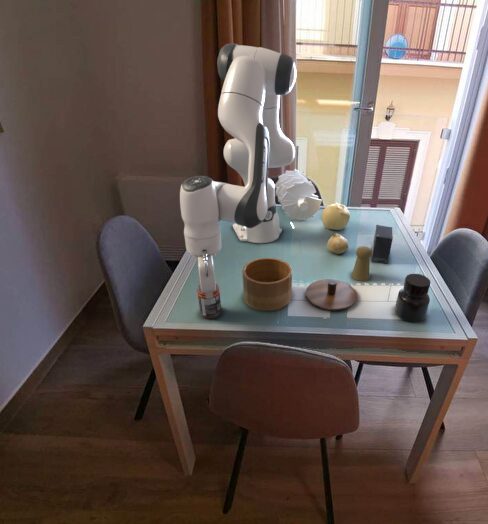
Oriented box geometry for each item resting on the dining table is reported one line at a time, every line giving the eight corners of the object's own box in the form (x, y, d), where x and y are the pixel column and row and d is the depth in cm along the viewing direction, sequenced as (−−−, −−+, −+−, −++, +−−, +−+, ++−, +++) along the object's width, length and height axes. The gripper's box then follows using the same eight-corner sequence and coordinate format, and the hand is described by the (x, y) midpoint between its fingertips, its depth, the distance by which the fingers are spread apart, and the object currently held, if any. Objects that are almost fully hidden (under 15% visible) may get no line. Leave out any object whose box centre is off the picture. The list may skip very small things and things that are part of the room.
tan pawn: (358, 282, 119) (362, 254, 114) (348, 273, 124) (351, 245, 118) (372, 278, 122) (377, 250, 116) (362, 270, 126) (366, 242, 121)
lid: (296, 290, 114) (296, 277, 111) (335, 277, 121) (336, 264, 119) (326, 318, 102) (327, 303, 100) (366, 301, 110) (369, 287, 108)
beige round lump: (351, 232, 152) (354, 208, 147) (324, 233, 151) (326, 209, 145) (344, 221, 162) (347, 198, 157) (318, 222, 160) (320, 199, 155)
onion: (347, 247, 140) (349, 231, 137) (347, 257, 133) (349, 240, 130) (327, 245, 141) (329, 229, 138) (325, 255, 134) (327, 238, 131)
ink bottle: (418, 303, 110) (427, 270, 104) (431, 322, 103) (441, 287, 97) (388, 305, 109) (395, 272, 103) (399, 324, 101) (407, 289, 95)
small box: (388, 264, 130) (393, 238, 125) (370, 261, 131) (374, 236, 126) (388, 250, 139) (393, 226, 134) (371, 248, 140) (375, 224, 135)
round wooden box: (236, 291, 112) (234, 265, 107) (276, 278, 119) (276, 253, 115) (257, 316, 102) (256, 289, 97) (300, 301, 109) (301, 274, 104)
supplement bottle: (202, 306, 105) (197, 274, 99) (222, 306, 105) (219, 273, 100) (198, 319, 100) (194, 286, 94) (220, 319, 100) (217, 286, 94)
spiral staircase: (293, 231, 160) (281, 208, 180) (328, 213, 160) (313, 192, 180) (276, 198, 149) (266, 177, 169) (314, 179, 149) (299, 160, 169)
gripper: (219, 260, 83) (223, 308, 90) (213, 225, 100) (217, 267, 107) (191, 263, 81) (197, 311, 88) (190, 226, 98) (195, 269, 105)
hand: (208, 287), depth 98 cm, fingers open, 8 cm apart
